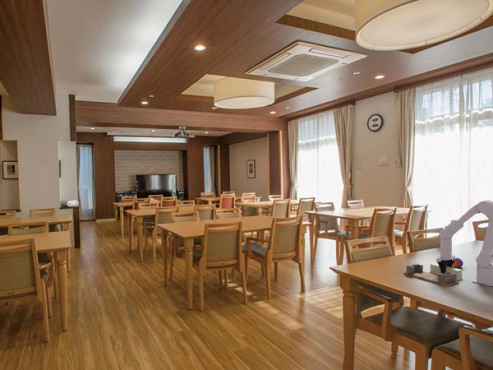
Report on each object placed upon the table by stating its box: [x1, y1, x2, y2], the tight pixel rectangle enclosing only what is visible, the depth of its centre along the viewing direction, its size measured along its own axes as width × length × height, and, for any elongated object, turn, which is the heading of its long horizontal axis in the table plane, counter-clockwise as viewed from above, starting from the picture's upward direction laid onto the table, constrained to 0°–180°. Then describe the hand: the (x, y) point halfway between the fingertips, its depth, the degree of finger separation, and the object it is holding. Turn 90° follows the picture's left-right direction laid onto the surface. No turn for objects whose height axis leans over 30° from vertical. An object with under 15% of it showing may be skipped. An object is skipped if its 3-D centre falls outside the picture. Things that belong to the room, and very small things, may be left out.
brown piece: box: [452, 257, 464, 269], centre depth 205 cm, size 6×6×20 cm
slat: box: [429, 262, 463, 281], centre depth 192 cm, size 16×4×5 cm, turn 27°
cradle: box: [403, 263, 460, 288], centre depth 186 cm, size 25×11×5 cm, turn 27°
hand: (445, 272), depth 192 cm, fingers closed on slat, 4 cm apart
